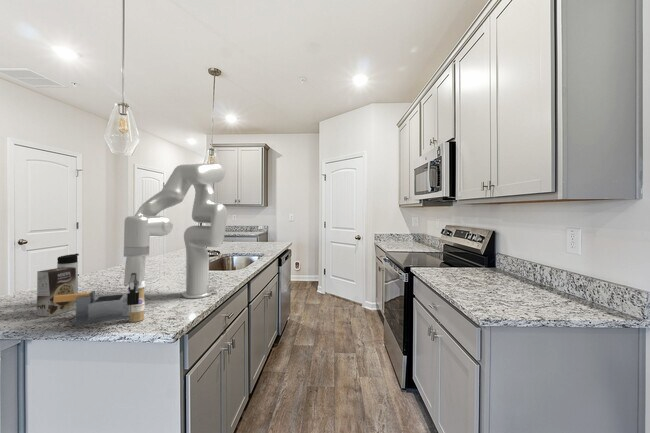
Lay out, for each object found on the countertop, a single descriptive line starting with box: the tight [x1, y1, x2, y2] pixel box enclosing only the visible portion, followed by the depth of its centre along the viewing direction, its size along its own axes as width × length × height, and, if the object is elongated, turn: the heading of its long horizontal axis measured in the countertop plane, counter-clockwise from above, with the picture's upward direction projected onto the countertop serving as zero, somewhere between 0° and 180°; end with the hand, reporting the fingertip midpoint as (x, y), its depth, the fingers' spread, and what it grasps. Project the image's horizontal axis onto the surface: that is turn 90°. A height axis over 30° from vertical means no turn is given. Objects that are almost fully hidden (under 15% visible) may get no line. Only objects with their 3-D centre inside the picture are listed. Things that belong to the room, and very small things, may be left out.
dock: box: [70, 292, 130, 326], centre depth 107 cm, size 18×14×8 cm
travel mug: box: [56, 253, 80, 294], centre depth 118 cm, size 6×7×20 cm
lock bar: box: [54, 290, 96, 303], centre depth 103 cm, size 11×3×3 cm, turn 115°
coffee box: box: [36, 267, 76, 318], centre depth 108 cm, size 9×6×16 cm
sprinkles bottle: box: [128, 280, 146, 323], centre depth 102 cm, size 5×5×14 cm
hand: (135, 300), depth 101 cm, fingers open, 9 cm apart
